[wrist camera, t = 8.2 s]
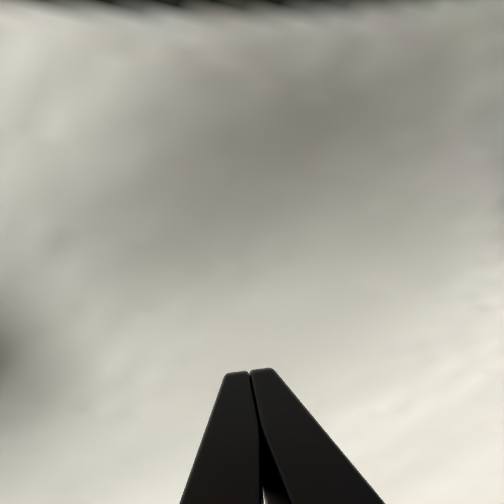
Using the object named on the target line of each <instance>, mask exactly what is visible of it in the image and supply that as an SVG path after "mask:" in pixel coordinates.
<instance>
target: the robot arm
mask: <svg viewBox="0 0 504 504" xmlns="http://www.w3.org/2000/svg"><path fill="white" fill-rule="evenodd" d="M263 493H264V499H265V504H385V503H384V502H383V500H382V499H381V498H380V497H379V496H378V494H377V493H376V492H375V491H374V490H373V488H372V487H371V486H370V485H369V483H368V482H367V481H366V480H365V479H364V477H363V476H362V475H361V474H360V473H359V471H358V470H357V469H356V468H355V467H354V465H353V464H352V463H351V462H350V461H349V459H348V458H347V457H346V456H345V455H344V453H343V452H342V451H341V450H340V449H339V447H338V446H337V445H336V444H335V443H334V441H333V440H332V439H331V438H330V437H329V435H328V434H327V433H326V432H325V430H324V429H323V428H322V427H321V426H320V424H319V423H318V422H317V421H316V420H315V418H314V417H313V416H312V415H311V414H310V412H309V411H308V410H307V409H306V408H305V406H304V405H303V404H302V403H301V402H300V400H299V399H298V398H297V397H296V396H295V394H294V393H293V392H292V391H291V390H290V388H289V387H288V386H287V385H286V384H285V382H284V381H283V380H282V379H281V378H280V376H279V375H278V374H277V373H276V372H275V370H273V369H272V368H263V369H256V370H252V371H250V373H248V372H247V371H240V372H233V373H227V374H226V375H225V376H224V378H223V381H222V384H221V387H220V390H219V392H218V395H217V398H216V401H215V404H214V407H213V410H212V412H211V415H210V418H209V421H208V424H207V427H206V429H205V432H204V435H203V438H202V441H201V444H200V447H199V449H198V452H197V455H196V458H195V461H194V464H193V467H192V469H191V472H190V475H189V478H188V481H187V484H186V486H185V489H184V492H183V495H182V498H181V501H180V504H264V499H263Z"/></svg>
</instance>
